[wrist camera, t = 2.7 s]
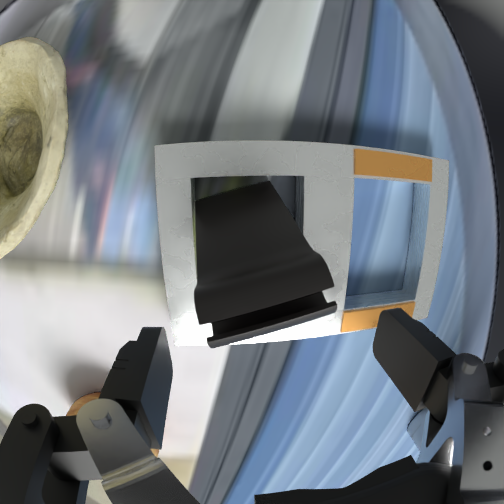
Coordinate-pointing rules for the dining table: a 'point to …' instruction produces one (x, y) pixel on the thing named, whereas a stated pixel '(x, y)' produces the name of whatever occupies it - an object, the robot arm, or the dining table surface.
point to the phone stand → (255, 267)
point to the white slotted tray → (302, 223)
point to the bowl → (29, 133)
